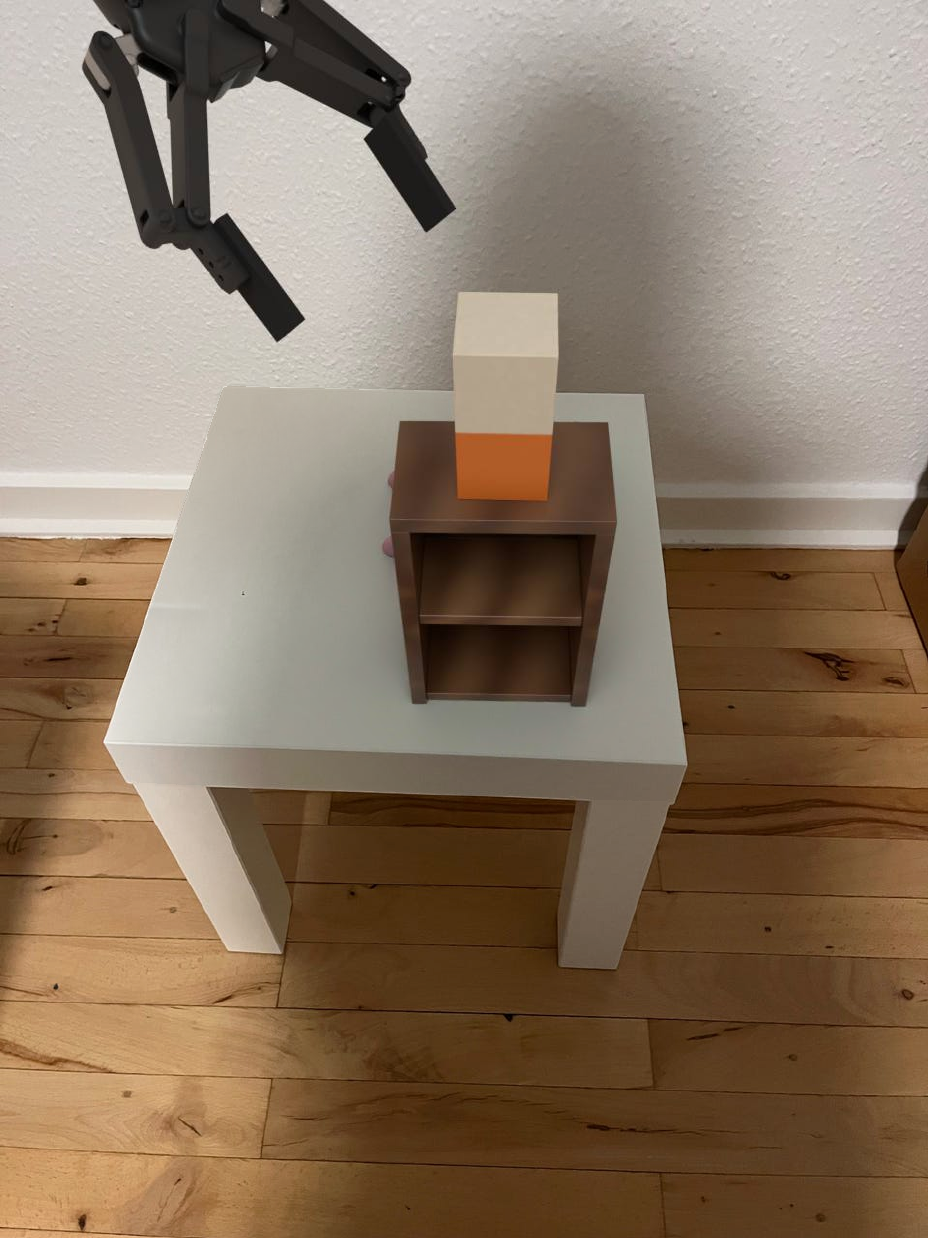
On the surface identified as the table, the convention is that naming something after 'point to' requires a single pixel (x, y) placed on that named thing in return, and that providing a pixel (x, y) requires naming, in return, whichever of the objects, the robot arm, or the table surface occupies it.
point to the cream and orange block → (504, 393)
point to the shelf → (501, 570)
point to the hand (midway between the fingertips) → (370, 273)
